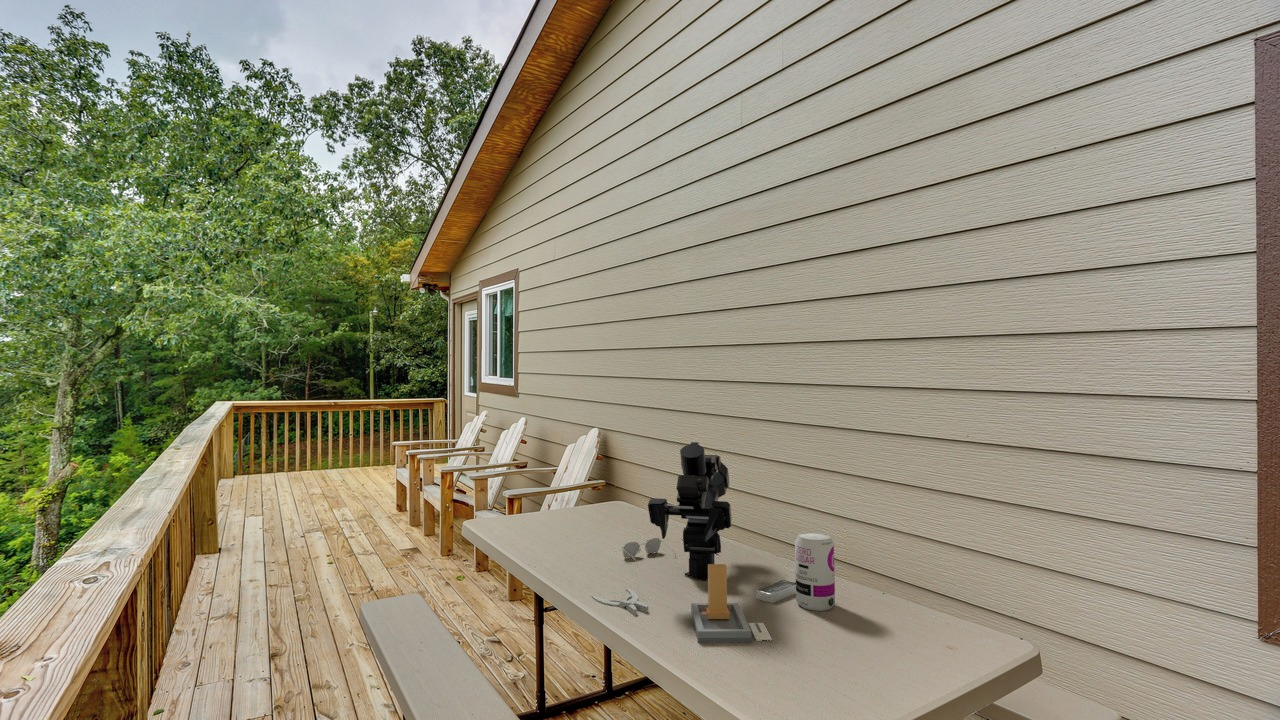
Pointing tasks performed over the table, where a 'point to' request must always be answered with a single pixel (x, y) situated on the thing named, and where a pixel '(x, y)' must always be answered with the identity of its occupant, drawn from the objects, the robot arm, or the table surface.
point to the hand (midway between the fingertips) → (683, 538)
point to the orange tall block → (717, 592)
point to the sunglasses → (633, 548)
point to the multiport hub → (776, 591)
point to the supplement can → (815, 571)
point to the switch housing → (726, 626)
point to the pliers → (626, 603)
